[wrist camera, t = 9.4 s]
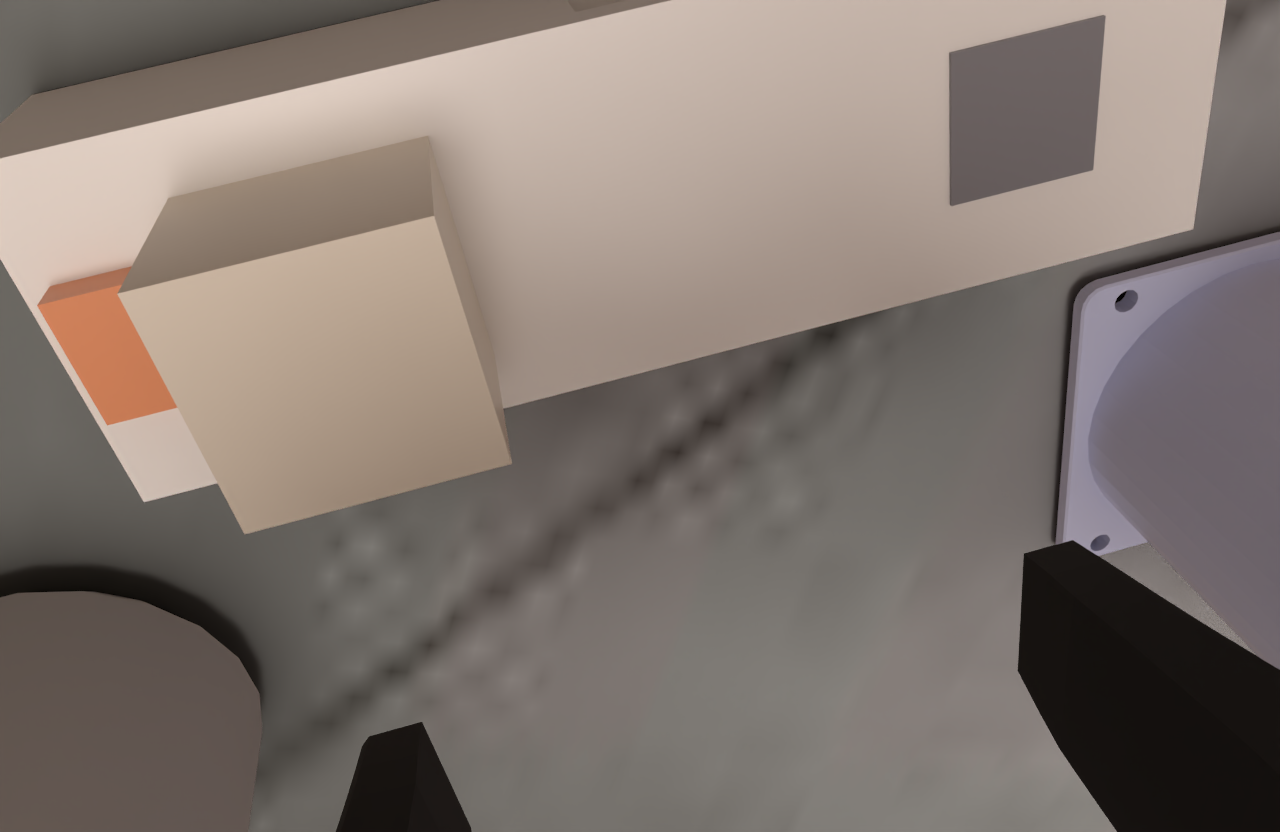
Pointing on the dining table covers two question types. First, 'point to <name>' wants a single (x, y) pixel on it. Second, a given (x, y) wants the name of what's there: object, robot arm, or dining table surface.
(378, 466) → the beige plug
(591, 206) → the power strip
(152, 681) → the can
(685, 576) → the dining table surface
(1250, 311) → the robot arm
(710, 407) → the dining table surface
